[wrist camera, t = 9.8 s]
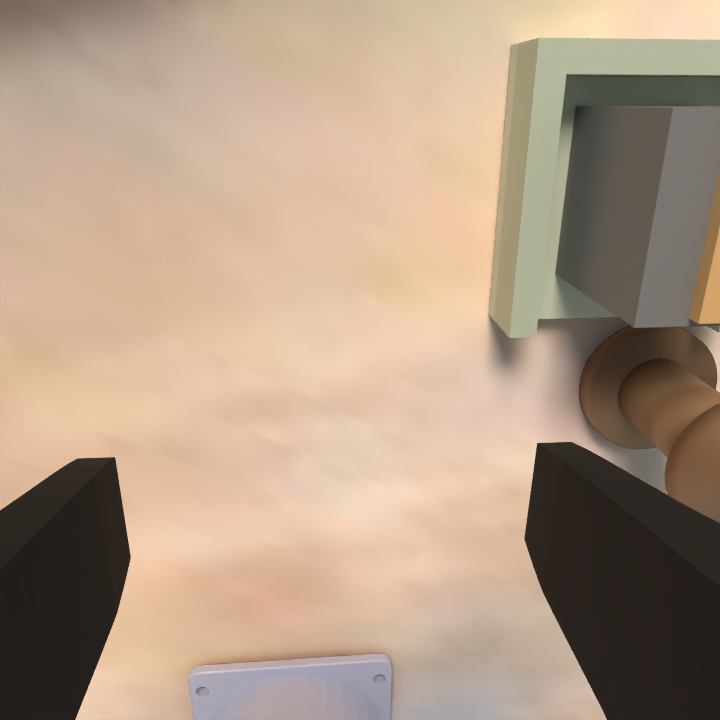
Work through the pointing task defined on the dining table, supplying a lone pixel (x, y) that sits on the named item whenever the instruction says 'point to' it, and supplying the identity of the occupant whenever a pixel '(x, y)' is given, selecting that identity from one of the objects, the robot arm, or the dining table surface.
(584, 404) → the brown wooden knob
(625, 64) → the notch board
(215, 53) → the dining table surface
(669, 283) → the grey block
